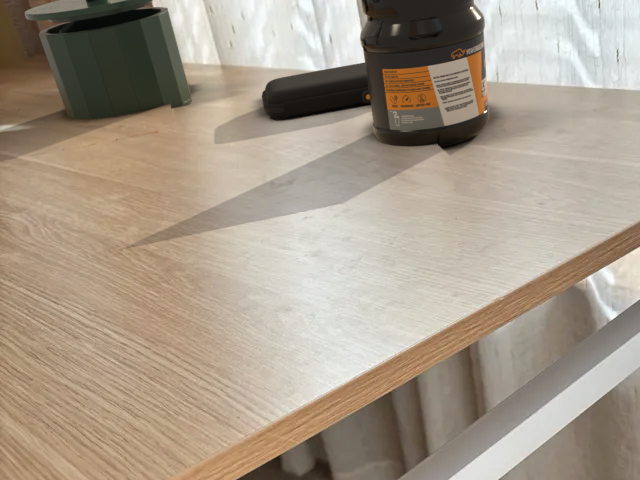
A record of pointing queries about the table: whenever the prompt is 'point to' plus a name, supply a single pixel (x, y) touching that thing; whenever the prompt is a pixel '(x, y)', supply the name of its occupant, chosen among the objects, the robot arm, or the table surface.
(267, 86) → the carrying case
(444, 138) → the supplement container
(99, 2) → the lid
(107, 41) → the tin
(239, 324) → the table surface
